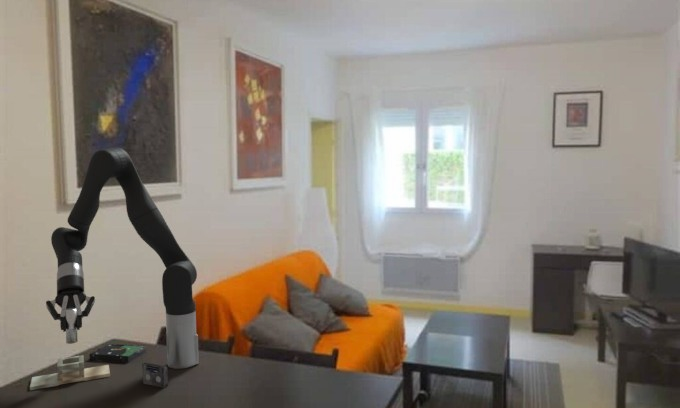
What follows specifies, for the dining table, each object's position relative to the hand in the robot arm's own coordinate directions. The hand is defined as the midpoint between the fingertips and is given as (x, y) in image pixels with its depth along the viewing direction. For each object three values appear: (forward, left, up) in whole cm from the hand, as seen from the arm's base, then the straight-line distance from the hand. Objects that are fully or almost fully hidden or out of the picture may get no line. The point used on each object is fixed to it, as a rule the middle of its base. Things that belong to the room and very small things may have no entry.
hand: (71, 329), depth 151 cm
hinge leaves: (+1, -4, -16) cm, 17 cm away
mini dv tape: (-21, +13, -17) cm, 30 cm away
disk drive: (-13, -18, -17) cm, 28 cm away
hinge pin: (0, -2, -4) cm, 5 cm away
